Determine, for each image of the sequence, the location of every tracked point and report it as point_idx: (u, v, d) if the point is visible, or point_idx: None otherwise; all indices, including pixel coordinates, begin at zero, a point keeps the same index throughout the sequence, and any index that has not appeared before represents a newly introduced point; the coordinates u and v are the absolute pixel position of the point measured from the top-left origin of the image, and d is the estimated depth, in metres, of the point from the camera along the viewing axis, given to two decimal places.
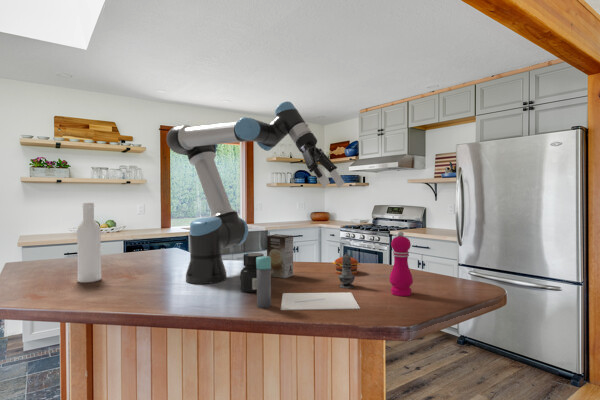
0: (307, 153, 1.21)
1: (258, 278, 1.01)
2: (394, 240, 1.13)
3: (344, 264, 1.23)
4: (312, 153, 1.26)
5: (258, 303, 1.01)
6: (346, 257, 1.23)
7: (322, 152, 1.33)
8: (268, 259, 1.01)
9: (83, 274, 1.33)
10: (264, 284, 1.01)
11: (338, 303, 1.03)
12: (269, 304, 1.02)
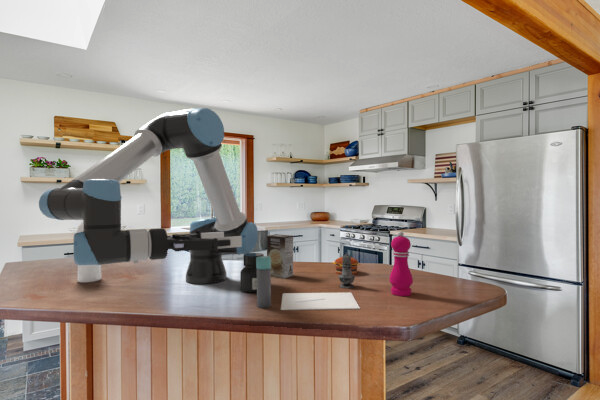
0: None
1: (258, 278, 1.01)
2: (394, 240, 1.13)
3: (344, 264, 1.23)
4: None
5: (258, 303, 1.01)
6: (346, 257, 1.23)
7: None
8: (268, 259, 1.01)
9: (83, 274, 1.33)
10: (264, 284, 1.01)
11: (338, 303, 1.03)
12: (269, 304, 1.02)
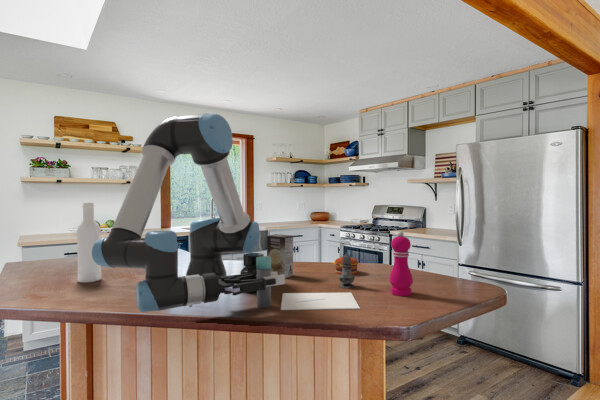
0: None
1: (258, 278, 1.01)
2: (394, 240, 1.13)
3: (344, 264, 1.23)
4: None
5: (258, 303, 1.01)
6: (346, 257, 1.23)
7: None
8: (268, 259, 1.01)
9: (83, 274, 1.33)
10: None
11: (338, 303, 1.03)
12: (269, 304, 1.02)
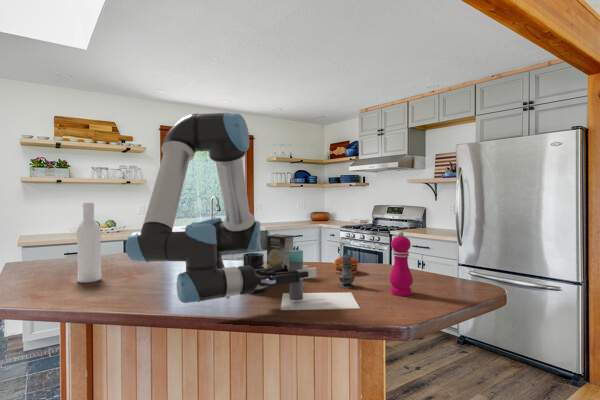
0: None
1: None
2: (394, 240, 1.13)
3: (344, 264, 1.23)
4: None
5: (291, 295, 1.04)
6: (346, 257, 1.23)
7: None
8: (301, 252, 1.03)
9: (83, 274, 1.33)
10: None
11: (338, 303, 1.03)
12: (302, 296, 1.04)
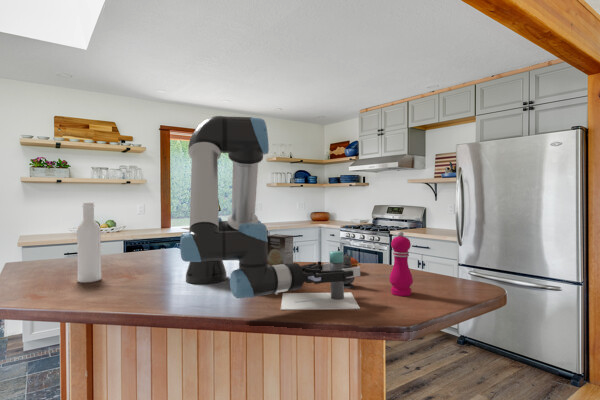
0: None
1: None
2: (394, 240, 1.13)
3: (344, 264, 1.23)
4: None
5: (333, 295, 1.08)
6: (346, 257, 1.23)
7: None
8: (341, 253, 1.08)
9: (83, 274, 1.33)
10: None
11: (338, 303, 1.03)
12: (343, 295, 1.08)
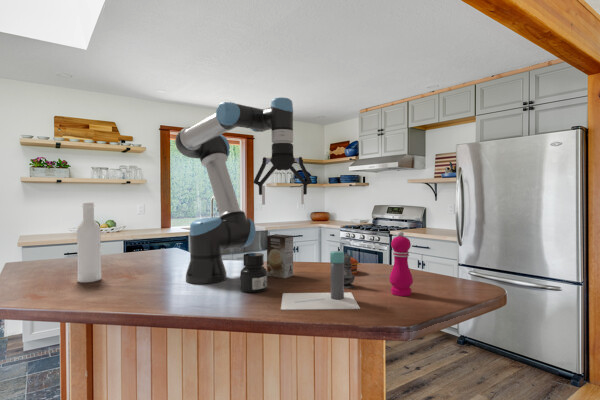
0: (260, 168, 1.24)
1: (333, 271, 1.08)
2: (394, 240, 1.13)
3: (344, 264, 1.23)
4: None
5: (333, 295, 1.08)
6: (346, 257, 1.23)
7: (299, 162, 1.23)
8: (342, 254, 1.07)
9: (83, 274, 1.33)
10: (339, 277, 1.07)
11: (338, 303, 1.03)
12: (343, 296, 1.08)
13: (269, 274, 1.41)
